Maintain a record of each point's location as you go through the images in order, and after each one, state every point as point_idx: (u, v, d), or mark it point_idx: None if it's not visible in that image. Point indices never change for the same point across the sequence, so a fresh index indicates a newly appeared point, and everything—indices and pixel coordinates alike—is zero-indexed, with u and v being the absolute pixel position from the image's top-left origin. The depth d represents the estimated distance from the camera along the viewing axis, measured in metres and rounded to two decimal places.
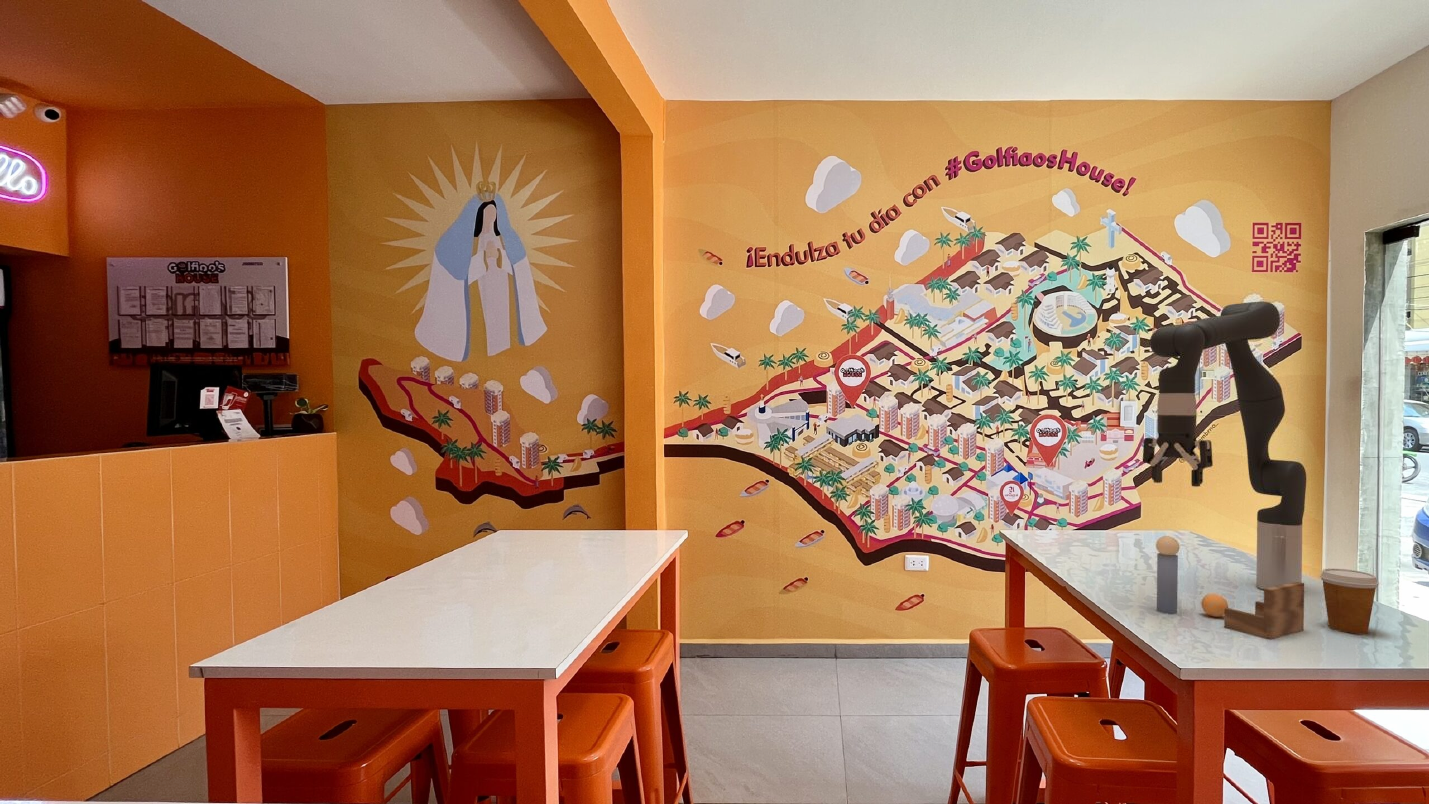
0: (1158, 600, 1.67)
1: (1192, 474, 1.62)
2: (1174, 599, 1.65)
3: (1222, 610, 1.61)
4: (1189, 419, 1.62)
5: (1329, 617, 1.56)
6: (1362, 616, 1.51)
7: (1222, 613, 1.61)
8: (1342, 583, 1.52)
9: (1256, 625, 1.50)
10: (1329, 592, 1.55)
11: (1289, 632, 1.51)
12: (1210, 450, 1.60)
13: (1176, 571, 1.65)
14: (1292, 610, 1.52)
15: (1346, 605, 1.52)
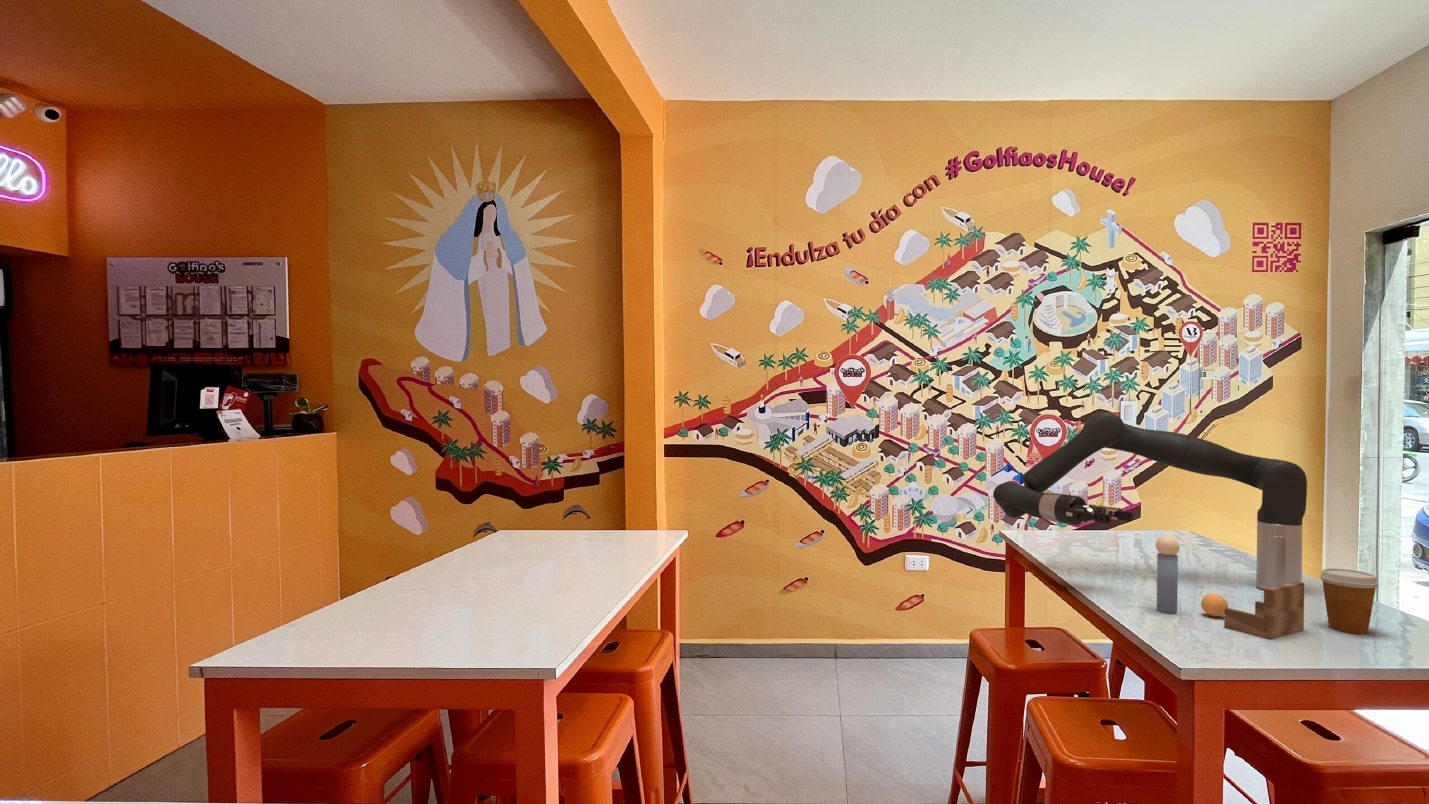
0: (1158, 600, 1.67)
1: None
2: (1174, 599, 1.65)
3: (1222, 610, 1.61)
4: (1057, 514, 1.88)
5: (1329, 617, 1.56)
6: (1362, 616, 1.51)
7: (1222, 613, 1.61)
8: (1342, 583, 1.52)
9: (1256, 625, 1.50)
10: (1329, 592, 1.55)
11: (1289, 632, 1.51)
12: (1072, 511, 1.81)
13: (1176, 571, 1.65)
14: (1292, 610, 1.52)
15: (1346, 605, 1.52)
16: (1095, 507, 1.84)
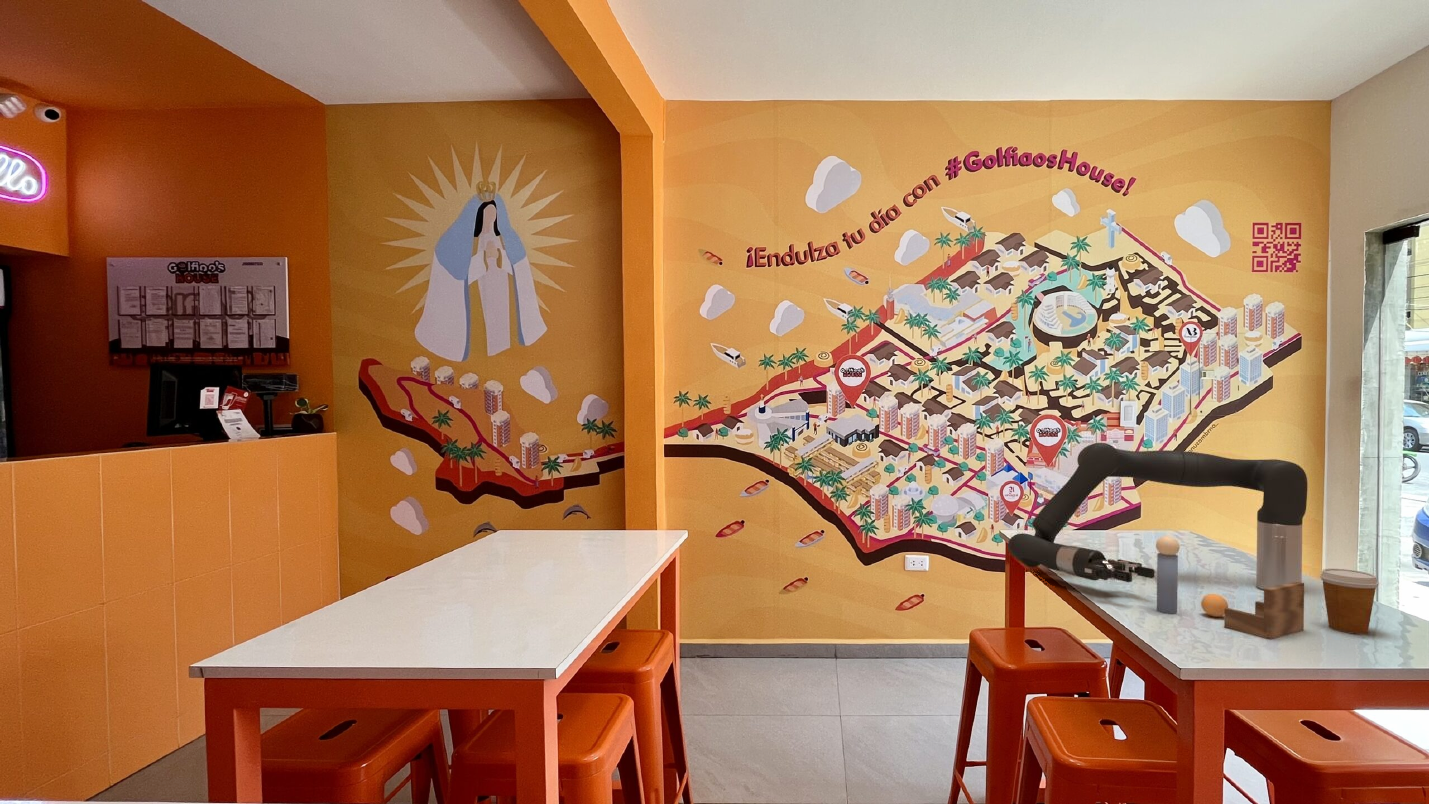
0: (1158, 600, 1.67)
1: None
2: (1174, 599, 1.65)
3: (1222, 610, 1.61)
4: (1076, 569, 1.84)
5: (1329, 617, 1.56)
6: (1362, 616, 1.51)
7: (1222, 613, 1.61)
8: (1342, 583, 1.52)
9: (1256, 625, 1.50)
10: (1329, 592, 1.55)
11: (1289, 632, 1.51)
12: (1091, 568, 1.76)
13: (1176, 571, 1.65)
14: (1292, 610, 1.52)
15: (1346, 605, 1.52)
16: (1114, 562, 1.80)
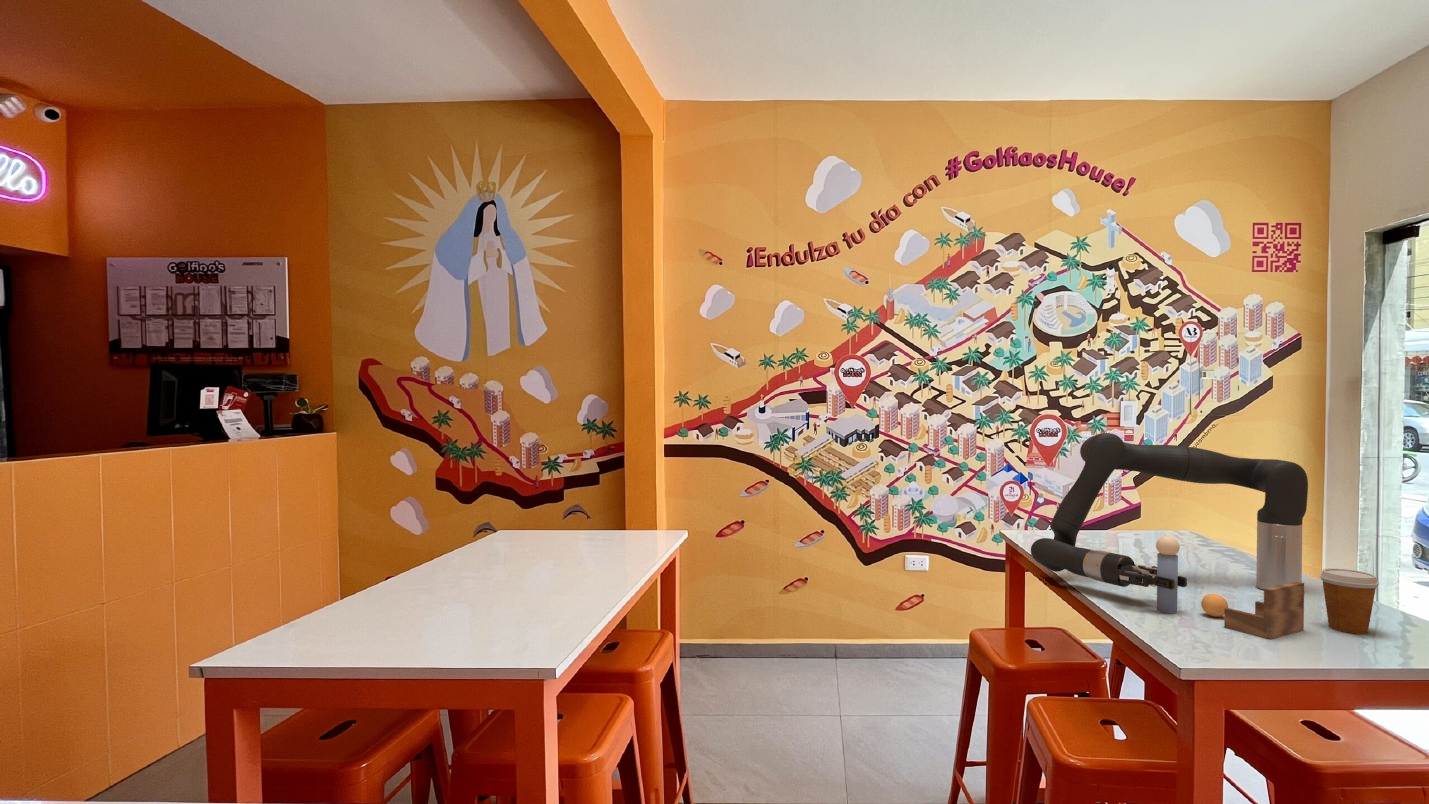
0: (1158, 600, 1.67)
1: None
2: (1174, 599, 1.65)
3: (1222, 610, 1.61)
4: (1104, 575, 1.77)
5: (1329, 617, 1.56)
6: (1362, 616, 1.51)
7: (1222, 613, 1.61)
8: (1342, 583, 1.52)
9: (1256, 625, 1.50)
10: (1329, 592, 1.55)
11: (1289, 632, 1.51)
12: (1130, 575, 1.69)
13: (1176, 571, 1.65)
14: (1292, 610, 1.52)
15: (1346, 605, 1.52)
16: None
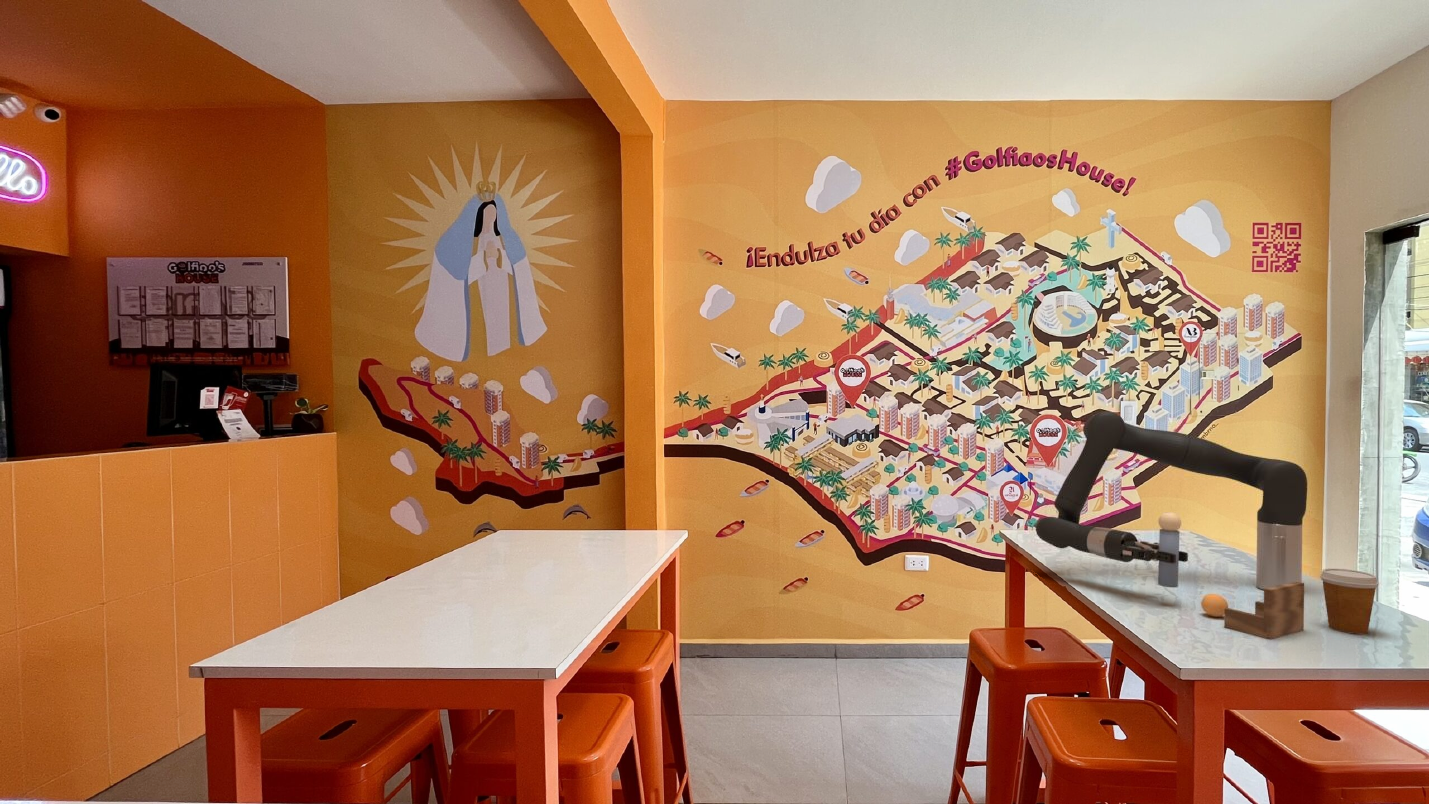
0: (1160, 574, 1.72)
1: None
2: (1175, 573, 1.71)
3: (1222, 610, 1.61)
4: (1107, 550, 1.82)
5: (1329, 617, 1.56)
6: (1362, 616, 1.51)
7: (1222, 613, 1.61)
8: (1342, 583, 1.52)
9: (1256, 625, 1.50)
10: (1329, 592, 1.55)
11: (1289, 632, 1.51)
12: (1132, 550, 1.74)
13: (1178, 546, 1.71)
14: (1292, 610, 1.52)
15: (1346, 605, 1.52)
16: None
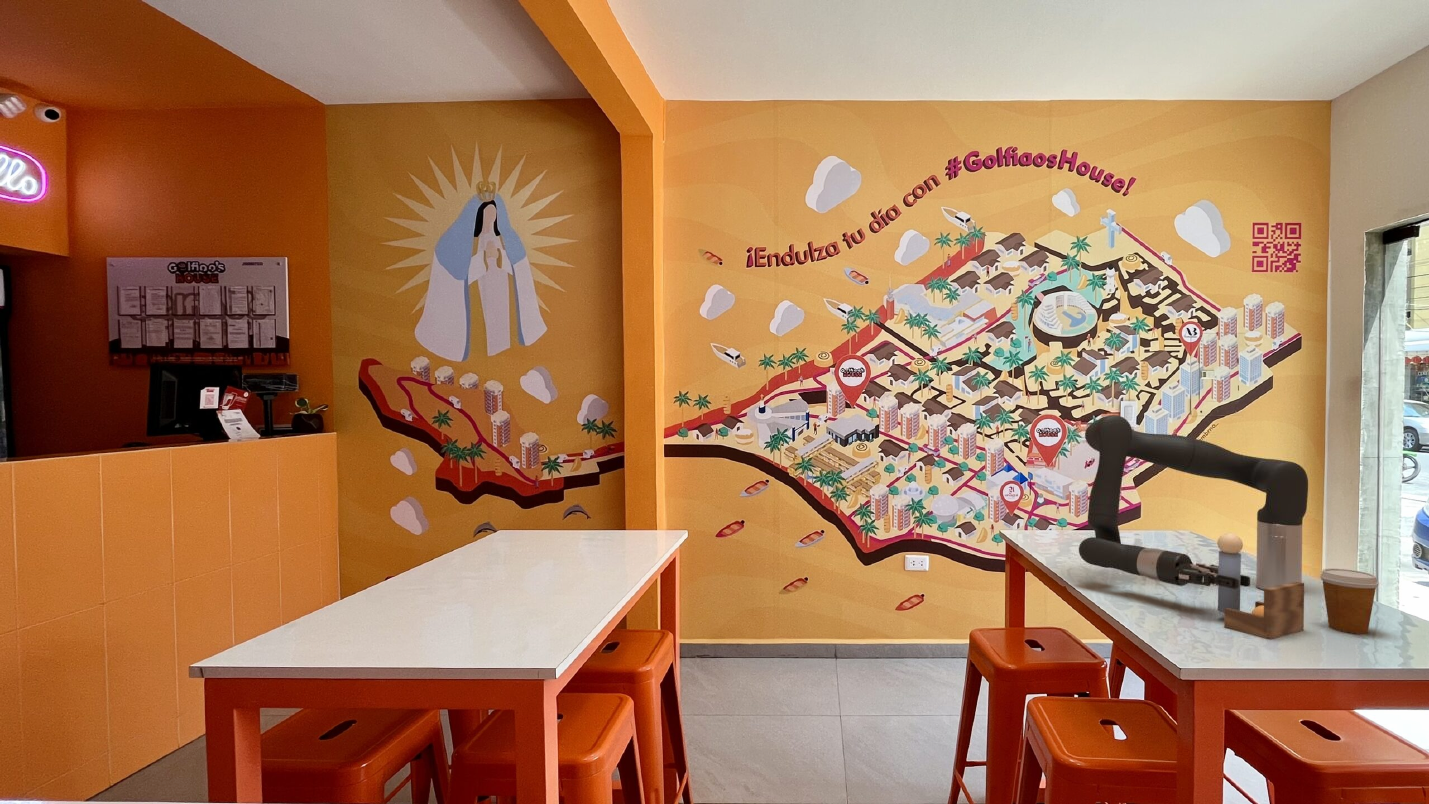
0: (1220, 600, 1.61)
1: None
2: (1237, 599, 1.59)
3: (1258, 607, 1.55)
4: (1160, 573, 1.71)
5: (1329, 617, 1.56)
6: (1362, 616, 1.51)
7: (1262, 606, 1.54)
8: (1342, 583, 1.52)
9: (1256, 625, 1.50)
10: (1329, 592, 1.55)
11: (1289, 632, 1.51)
12: (1190, 574, 1.62)
13: (1239, 569, 1.59)
14: (1292, 610, 1.52)
15: (1346, 605, 1.52)
16: (1204, 567, 1.67)
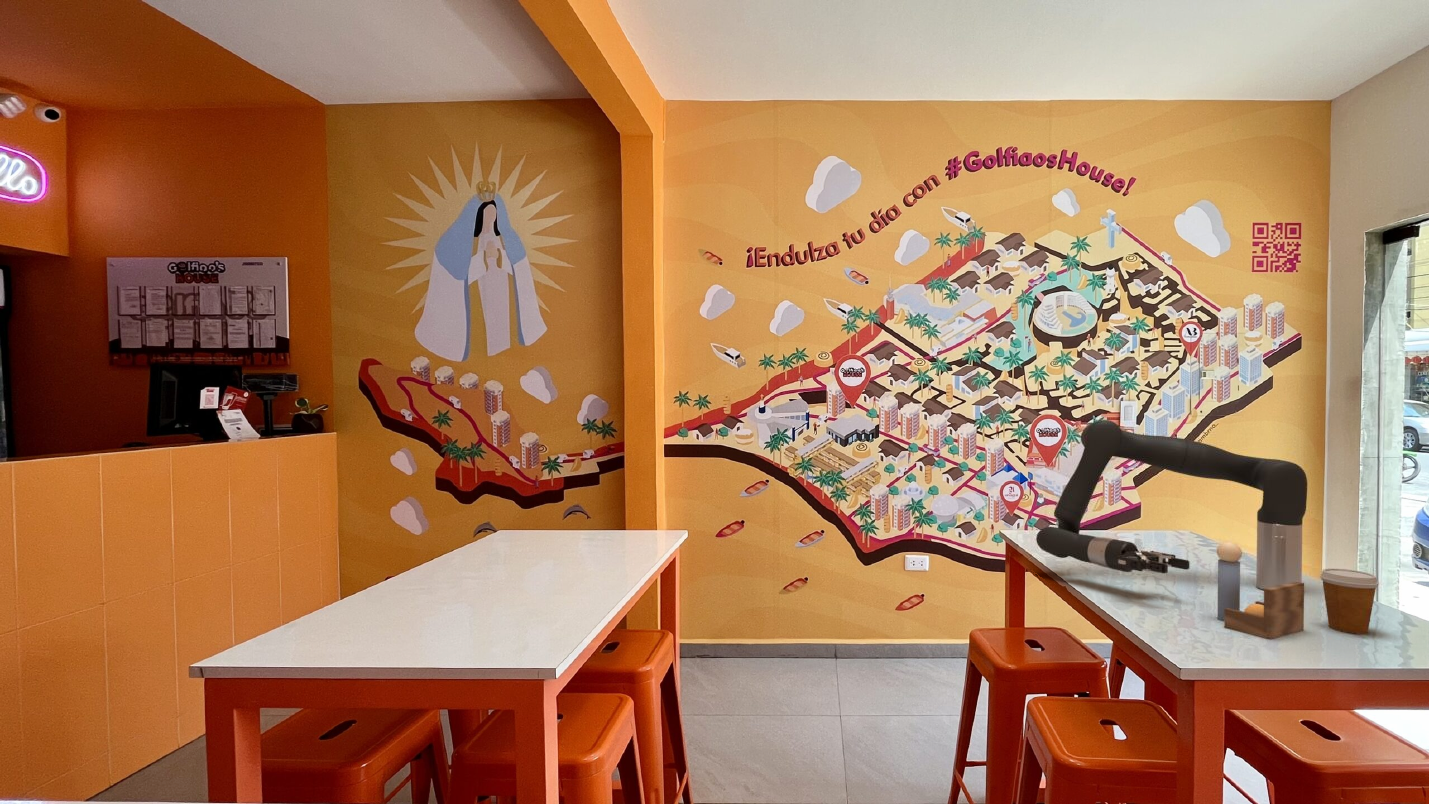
0: (1219, 608, 1.61)
1: None
2: (1237, 607, 1.59)
3: None
4: (1108, 560, 1.82)
5: (1329, 617, 1.56)
6: (1362, 616, 1.51)
7: None
8: (1342, 583, 1.52)
9: (1256, 625, 1.50)
10: (1329, 592, 1.55)
11: (1289, 632, 1.51)
12: (1125, 559, 1.75)
13: (1239, 578, 1.59)
14: (1292, 610, 1.52)
15: (1346, 605, 1.52)
16: (1148, 554, 1.78)
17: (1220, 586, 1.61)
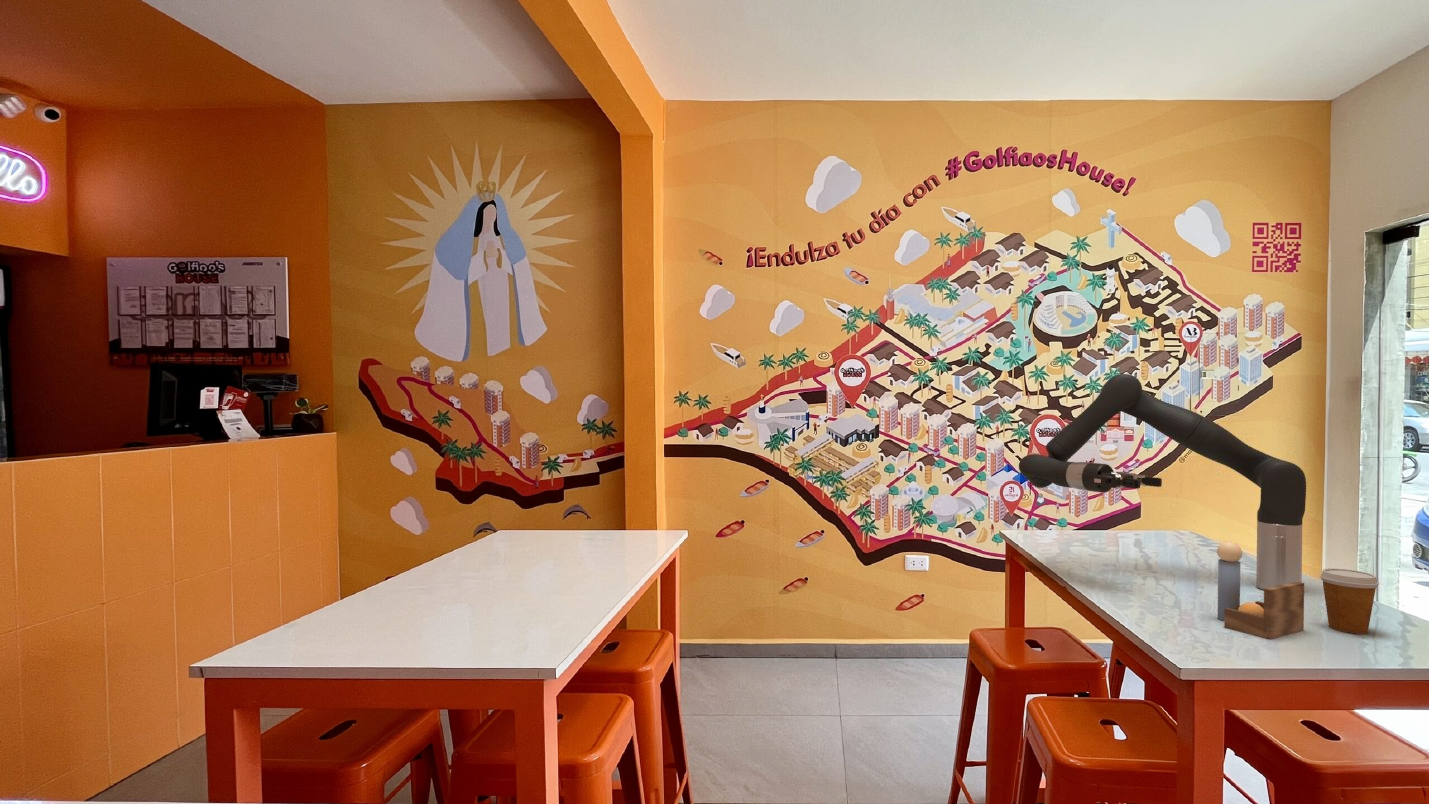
0: (1219, 608, 1.61)
1: (1128, 487, 1.79)
2: (1237, 607, 1.59)
3: None
4: (1085, 482, 1.90)
5: (1329, 617, 1.56)
6: (1362, 616, 1.51)
7: (1238, 608, 1.58)
8: (1342, 583, 1.52)
9: (1256, 625, 1.50)
10: (1329, 592, 1.55)
11: (1289, 632, 1.51)
12: (1101, 478, 1.83)
13: (1239, 578, 1.59)
14: (1292, 610, 1.52)
15: (1346, 605, 1.52)
16: (1123, 474, 1.86)
17: (1220, 586, 1.61)
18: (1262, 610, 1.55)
